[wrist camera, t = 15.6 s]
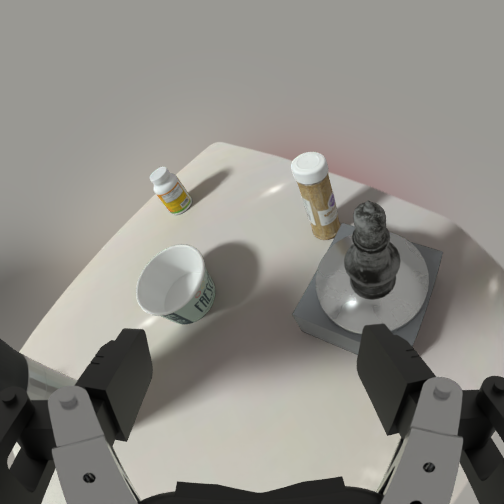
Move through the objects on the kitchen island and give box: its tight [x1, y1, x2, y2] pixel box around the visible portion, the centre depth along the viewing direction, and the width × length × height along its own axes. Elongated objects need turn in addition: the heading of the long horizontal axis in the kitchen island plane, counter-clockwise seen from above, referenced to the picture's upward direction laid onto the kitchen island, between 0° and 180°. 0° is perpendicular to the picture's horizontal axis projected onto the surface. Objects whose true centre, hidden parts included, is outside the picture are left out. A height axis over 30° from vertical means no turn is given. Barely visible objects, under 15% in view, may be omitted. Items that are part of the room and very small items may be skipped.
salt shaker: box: [344, 201, 401, 300], centre depth 27 cm, size 6×6×12 cm
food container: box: [136, 244, 215, 324], centre depth 45 cm, size 12×12×6 cm
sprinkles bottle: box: [291, 152, 340, 240], centre depth 41 cm, size 5×5×14 cm
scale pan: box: [316, 232, 429, 336], centre depth 32 cm, size 13×13×3 cm
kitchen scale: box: [292, 223, 443, 355], centre depth 35 cm, size 14×15×5 cm
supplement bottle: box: [150, 167, 192, 215], centre depth 59 cm, size 5×5×10 cm
